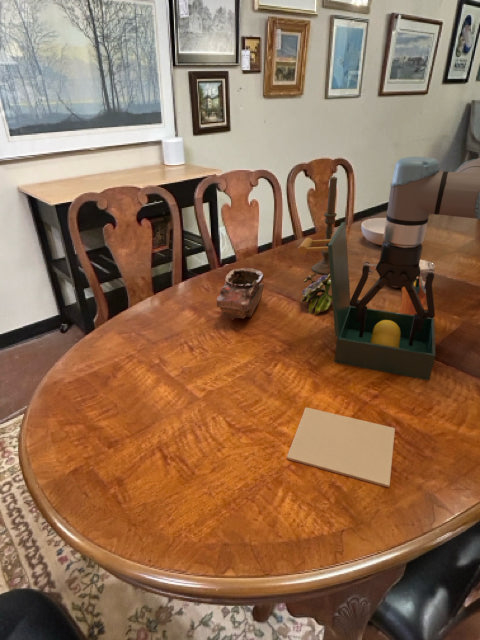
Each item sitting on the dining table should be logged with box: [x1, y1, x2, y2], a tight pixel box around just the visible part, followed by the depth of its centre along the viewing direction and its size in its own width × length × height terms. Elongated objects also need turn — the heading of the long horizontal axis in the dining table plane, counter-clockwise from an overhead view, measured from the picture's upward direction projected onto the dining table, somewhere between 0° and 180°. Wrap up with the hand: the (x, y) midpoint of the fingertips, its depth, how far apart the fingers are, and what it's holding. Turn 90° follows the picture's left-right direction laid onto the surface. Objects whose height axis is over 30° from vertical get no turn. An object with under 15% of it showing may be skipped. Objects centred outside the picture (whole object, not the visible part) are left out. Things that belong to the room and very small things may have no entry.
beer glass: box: [397, 259, 436, 315], centre depth 105 cm, size 7×7×15 cm
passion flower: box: [300, 272, 332, 315], centre depth 113 cm, size 11×11×12 cm
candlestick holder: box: [311, 175, 338, 276], centre depth 131 cm, size 9×9×30 cm
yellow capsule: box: [370, 320, 401, 348], centre depth 93 cm, size 12×6×6 cm, turn 159°
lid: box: [297, 221, 351, 338], centre depth 92 cm, size 20×16×8 cm
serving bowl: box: [361, 217, 386, 247], centre depth 159 cm, size 21×21×7 cm
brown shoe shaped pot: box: [216, 267, 265, 320], centre depth 111 cm, size 13×20×10 cm, turn 158°
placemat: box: [286, 406, 396, 488], centre depth 71 cm, size 16×13×1 cm
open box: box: [334, 306, 436, 381], centre depth 93 cm, size 19×16×7 cm
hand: (385, 338), depth 93 cm, fingers open, 10 cm apart
